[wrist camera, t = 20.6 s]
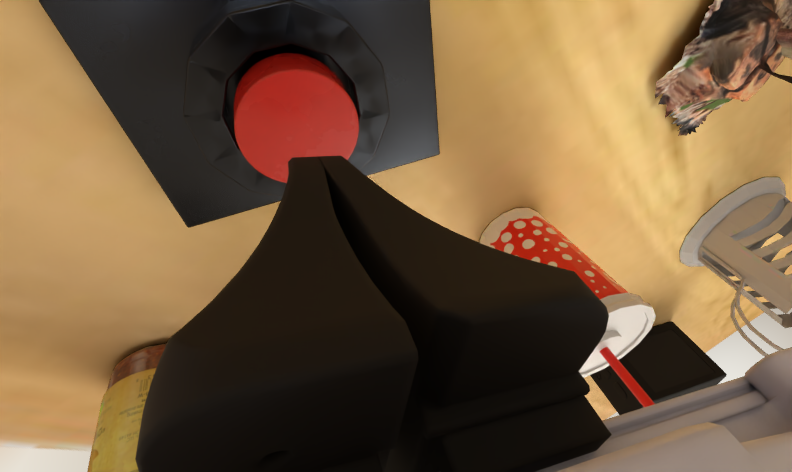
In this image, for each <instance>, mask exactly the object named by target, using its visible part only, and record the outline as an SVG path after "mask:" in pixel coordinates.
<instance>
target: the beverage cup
mask: <svg viewBox="0 0 792 472" xmlns="http://www.w3.org/2000/svg"><path fill="white" fill-rule="evenodd" d="M479 243H481V244H484V245H486V246H489V247H492V248H494V249H497V250H500V251H503V252H506V253H509V254H512V255H515V256H518V257H521V258H525V259H528V260H532V261H536V262H540V263H544V264H547V265H551V266H555V267H559V268H563V269H567V270H571V271H574V272H575V273H576V274H577V275H578V276H579V277H580V278H581V279H582V280H583V282H584V283H585V284H586V285H587V286H588V287H589V288H590V289H591V290H592V291H593V293H594V294H595V295H596V296H597V297H598V298H599V299H600V300H601V301H602V302H603V304H604V305H605V306H606V307H607V311H608V314H609V318H608V323H607V328H606V332H605V333H604V335H603V337H602V339H601V341H600V342H599V344H598V345H597V347H596V348H595V349H594V351H593V352H592V354H591V355H590V356H589V358H588V359H587V361H586V362H585V363H584V365H583V366H582V368H581V369H580V370H579V372H580V374H581V375H582V377H583V378H584V377H587V376H589V375H591V374H593V373H596V372H598V371H600V370H602V369H604V368H606V367H607V366H609V365H610V366H611V367H612V368H613V370H614V371H615V372H616V373H617V375H618V376H619V377H620V378H621V379H622V381H623V382H624V383H625V384H626V386H627V387H628V388H629V389H630V391H631V392H632V393H633V394H634V396H635V397H636V398H637V399H638V401H639V402H640V403H641V404H642V405H643V407H648V406H651V405H654V404H655V403H654V402H653V401H652V400H651V398H650V397H649V396H648V395H647V394H646V392H645V391H644V390H643V389H642V388H641V386H640V385H639V384H638V383H637V382H636V381H635V379H634V378H633V377H632V376H631V375H630V373H629V372H628V371H627V370H626V369H625V367H624V366H623V365H622V364H621V363H620V361H619V359H620V358H622V357H623V356H625V355H626V354H627V353H628V352H629V351H631V350H632V349H633V348H634V347H635V346H637V345H638V344H639V343H640V342H641V341H642V339H643V338H644V337H645V336H646V335H647V333H648V332H649V331H650V330H651V328H652V325H653V323H654V320H655V318H656V315H655V313H654V310H653V308H652V307H651V306H650V305H649V304H648V303H645V302H643V300H642V299H641V297H640V296H638V295H635V294H631V293H628V292H627V291H626V290H625V289H624V288H622V287H621V286H620V285H619V284H618V283H617V282H616V281H615V280H613V279H612V278H611V277H610V276H609V275H608V274H607V273H606V272H604V271H603V270H602V269H601V268H600V267H599V266H598V265H597V264H595V263H594V262H593V261H592V260H591V259H590V258H589V257H587V256H586V255H585V254H584V253H583V252H582V251H581V250H580V249H578V248H577V247H576V246H575V245H574V244H573V243H572V242H571V241H569V240H568V239H567V238H566V237H565V236H564V235H563V234H562V233H560V232H559V231H558V230H557V229H556V228H555V227H554V226H552V225H551V224H550V223H549V222H548V221H547V220H546V219H545V218H543V217H542V216H541V215H540V214H539V213H538V212H537V211H535V210H532V209H530V208H515V209H513V210H510V211H508V212H505V213H503V214H501V215H500V216H499V217H497V218H496V219H495V220H493V221H492V222H491V223H490V224H489V225H488V227H487V228H486V229H485V231H484V232H483V233H482V236H481V239H480V242H479Z"/></svg>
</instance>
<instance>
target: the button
mask: <svg viewBox="0 0 792 472" xmlns="http://www.w3.org/2000/svg"><path fill="white" fill-rule="evenodd" d="M234 132H235V137H236V141H237V144H238V147H239V149H240V151H241V152H242V154H243V156H244V157H245V159H246V160H247V161H248V162H249V163H250V164H251V165H252V166H253V167H254V168H255V169H256V170H257V171H259V172H260V173H262V174H263V175H265V176H267V177H269V178H271V179H274V180H277V181H280V182H284V183H287V179H288V174H289V172H288V161H289V160H290V159H291V158H292V157H317V156H342V157H344V158H345V159H346V160H348V159H349V157H350V156H351V154H352V152H353V150H354V148H355V146H356V143H357V139H358V133H359V120H358V115H357V111H356V108H355V106H354V103H353V101H352V100H351V98H350V96H349V94H348V93H347V91H346V89H345V88H344V86H343V84H342V83H341V81H340V79H339V78H338V77H337V75H336V74H335V73H334V72H333V71H332V70H331V69H330V68H329V67H328V66H326V65H325V64H324V63H322V62H320V61H319V60H317V59H315V58H312V57H310V56H307V55H303V54H297V53H281V54H275V55H272V56H269V57H266V58H264V59H262V60H260V61H259V62H257V63H256V64H254V65H253V66H252V67H251V68H250V69H248V70H247V72H246V73H245V74H244V75H243V77H242V78H241V80H240V82H239V84H238V86H237V89H236V92H235V96H234Z"/></svg>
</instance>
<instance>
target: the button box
mask: <svg viewBox="0 0 792 472" xmlns="http://www.w3.org/2000/svg"><path fill="white" fill-rule="evenodd" d="M39 2H40V4H41V5H42V7H43V8H44V10H45V11H46V13H47V14H48V16H49V17H50V19H51V20H52V22H53V23H54V25H55V26H56V28H57V29H58V31H59V32H60V34H61V36H62V37H63V39H64V40H65V42H66V43H67V45H68V46H69V48H70V49H71V51H72V52H73V54H74V55H75V57H76V58H77V60H78V61H79V63H80V64H81V66H82V67H83V69H84V70H85V72H86V74H87V75H88V77H89V78H90V80H91V81H92V83H93V84H94V86H95V87H96V89H97V90H98V92H99V93H100V95H101V96H102V98H103V99H104V101H105V102H106V104H107V105H108V107H109V108H110V110H111V112H112V113H113V115H114V116H115V118H116V119H117V121H118V122H119V124H120V125H121V127H122V128H123V130H124V131H125V133H126V134H127V136H128V137H129V139H130V140H131V142H132V143H133V145H134V146H135V148H136V150H137V151H138V153H139V154H140V156H141V157H142V159H143V160H144V162H145V163H146V165H147V166H148V168H149V169H150V171H151V172H152V174H153V175H154V177H155V178H156V180H157V181H158V183H159V184H160V186H161V188H162V189H163V191H164V192H165V194H166V195H167V197H168V198H169V200H170V201H171V203H172V204H173V206H174V207H175V209H176V210H177V212H178V213H179V215H180V216H181V218H182V219H183V221H184V222H185V224H186V225H187V227H188V228H189V227H193V226H196V225H200V224H203V223H206V222H210V221H213V220H217V219H220V218H224V217H227V216H230V215H234V214H237V213H241V212H244V211H247V210H251V209H254V208H258V207H261V206H265V205H268V204H271V203H275V202H278V201H281V200H282V197H283V194H284V190H285V187H286V184H287V183H284V182H280V181H277V180H274V179H271V178H269V177H267V176H265V175H263V174H262V173H260V172H259V171H257V170H256V169H255V168H254V167H253V166H252V165H251V164H250V163H249V162H248V161H247V160H246V159H245V157H244V156H243V154H242V152H241V151H240V149H239V147H238V144H237V141H236V137H235V132H234V96H235V92H236V89H237V86H238V84H239V82H240V80H241V78H242V77H243V75H244V74H245V73H246V72H247V70H248V69H250V68H251V67H252V66H253V65H254V64H256V63H257V62H259V61H260V60H262V59H264V58H266V57H269V56H272V55H275V54H281V53H297V54H303V55H307V56H310V57H312V58H315V59H317V60H319V61H320V62H322V63H324V64H325V65H326V66H328V67H329V68H330V69H331V70H332V71H333V72H334V73H335V74H336V75H337V77H338V78H339V79H340V81H341V83H342V84H343V86H344V88H345V89H346V91H347V93H348V94H349V96H350V98H351V100H352V101H353V103H354V106H355V108H356V111H357V115H358V120H359V133H358V139H357V143H356V146H355V148H354V150H353V152H352V154H351V156H350V157H349V159H348V161H349V162H350V163H351V164H352V165H354V166H355V167H356V168H357V169H358V170H360V171H361V172H362V173H363V174H364V175H366V176H367V175H371V174H374V173H377V172H381V171H384V170H388V169H391V168H395V167H398V166H401V165H405V164H408V163H412V162H415V161H418V160H422V159H425V158H429V157H432V156H436V155H439V154H440V151H439V136H438V120H437V105H436V90H435V74H434V59H433V44H432V28H431V13H430V0H39Z"/></svg>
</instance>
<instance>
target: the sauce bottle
mask: <svg viewBox="0 0 792 472" xmlns="http://www.w3.org/2000/svg"><path fill="white" fill-rule="evenodd" d="M165 346H166V344H161V345H156V346H148V347H146V348H144V349H141V350H139V351H136V352H134V353H132V354H131V355H129V356H127V357H125V358H124V359H123V360H122V361H120V362H119V363H118V364H117V365H116V366H115V368H114V370H113V373H112V376H111V379H110V382H109V385H108V389H107V392H106V393H105V394H104V396H103V399H102V403H101V408H100V413H99V418H98V423H97V427H96V432H95V437H94V441H93V446H92V451H91V456H90V461H89V466H88V472H139V470H138V467H137V463H136V460H135V457H136V451H137V445H138V439H139V432H140V426H141V420H142V414H143V410H144V405H145V401H146V398H147V395H148V392H149V389H150V385H151V382H152V379H153V376H154V374H155V371H156V368H157V365H158V363H159V361H160V358H161V356H162V353H163V351H164V348H165Z"/></svg>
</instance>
